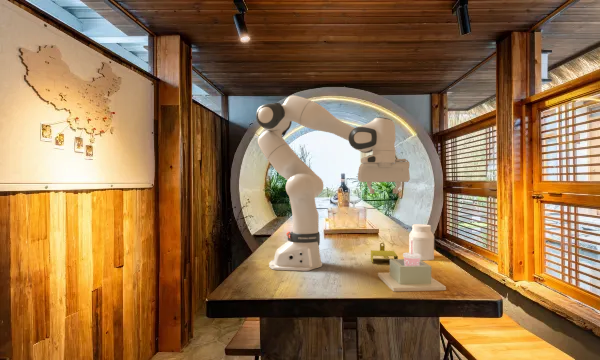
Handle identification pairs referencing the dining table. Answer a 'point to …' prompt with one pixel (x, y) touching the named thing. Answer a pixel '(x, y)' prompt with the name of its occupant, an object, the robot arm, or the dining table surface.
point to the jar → (422, 241)
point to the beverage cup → (411, 257)
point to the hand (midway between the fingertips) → (383, 193)
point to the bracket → (383, 253)
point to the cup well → (410, 277)
